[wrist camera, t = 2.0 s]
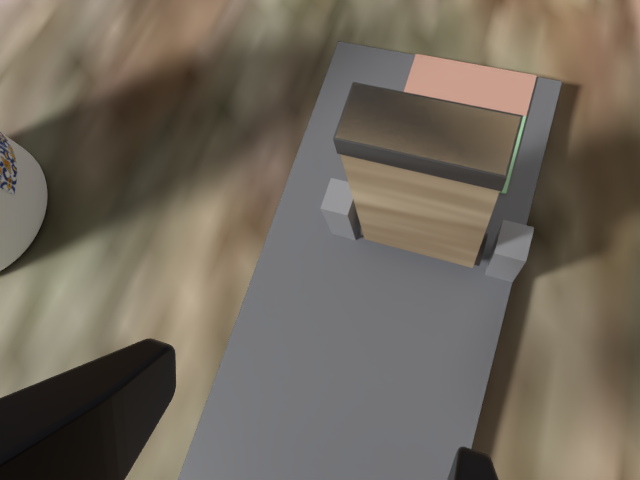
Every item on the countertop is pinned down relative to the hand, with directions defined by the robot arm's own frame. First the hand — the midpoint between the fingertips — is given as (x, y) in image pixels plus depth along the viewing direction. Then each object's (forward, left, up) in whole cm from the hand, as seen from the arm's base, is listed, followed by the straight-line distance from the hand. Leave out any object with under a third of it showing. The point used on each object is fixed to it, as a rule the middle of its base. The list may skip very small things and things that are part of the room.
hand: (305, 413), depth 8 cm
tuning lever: (0, +7, -12) cm, 13 cm away
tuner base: (-1, +5, -14) cm, 14 cm away
